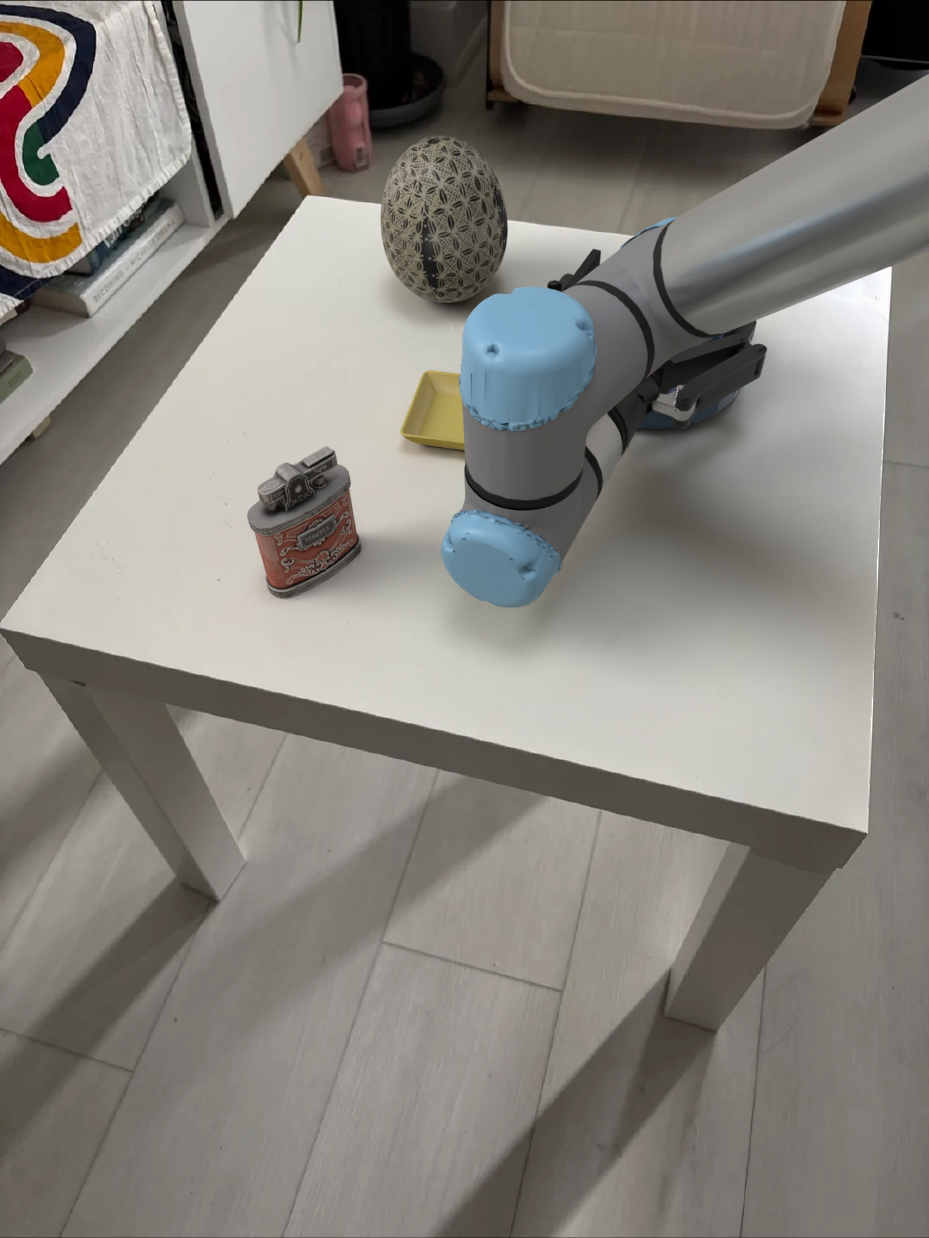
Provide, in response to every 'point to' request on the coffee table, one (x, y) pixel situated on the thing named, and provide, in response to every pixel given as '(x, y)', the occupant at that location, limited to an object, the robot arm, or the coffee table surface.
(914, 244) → the robot arm
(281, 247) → the coffee table surface
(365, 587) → the coffee table surface
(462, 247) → the decorative egg
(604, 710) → the coffee table surface
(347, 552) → the lighter
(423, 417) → the saucer
